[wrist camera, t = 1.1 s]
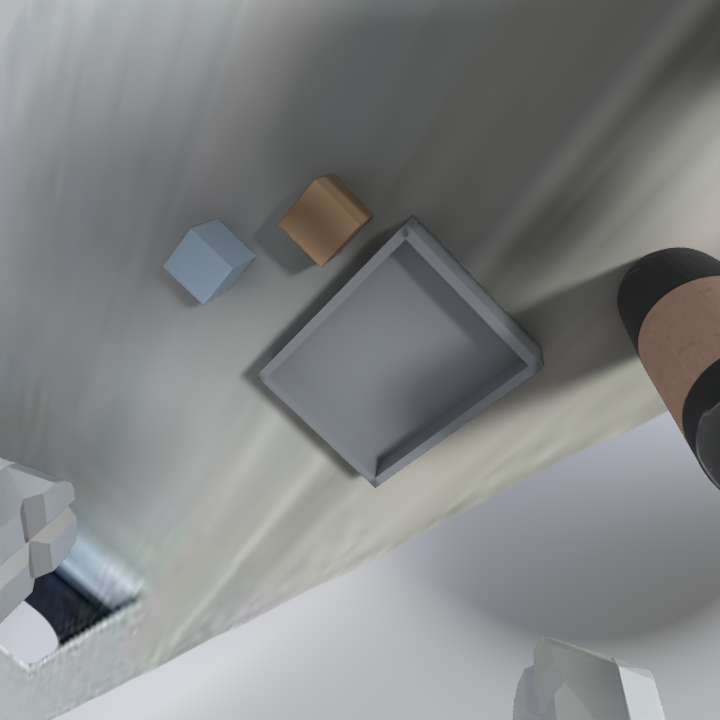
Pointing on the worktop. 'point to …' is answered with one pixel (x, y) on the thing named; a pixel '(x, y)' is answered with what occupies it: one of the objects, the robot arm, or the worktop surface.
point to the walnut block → (325, 218)
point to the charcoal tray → (401, 357)
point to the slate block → (209, 260)
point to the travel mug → (680, 341)
